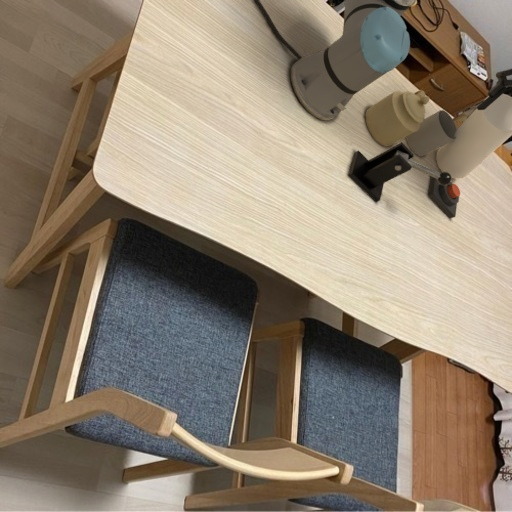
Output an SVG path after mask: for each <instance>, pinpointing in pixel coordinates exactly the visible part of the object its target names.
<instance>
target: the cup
mask: <svg viewBox="0 0 512 512" xmlns="http://www.w3.org/2000/svg"><path fill="white" fill-rule="evenodd" d="M456 131H457V128H456V125H455V123H454V121H453V118H452V116H451V115H450V114H449V113H448V112H447V111H445V110H444V109H440V110H438V111H437V112H435V113H433V114H431V115H429V116H427V117H426V118H424V121H423V122H420V127H419V129H418V130H417V131H416V132H414V133H412V134H411V135H409V136H407V137H406V141H407V143H408V146H409V147H410V150H411V151H412V152H413V154H414V155H417V156H418V157H423V156H425V155H428V154H429V153H431V152H434V151H435V150H437V149H440V148H441V147H442V146H443V145H445V144H447V143H449V142H451V141H453V140H455V139H456V137H454V135H455V133H456Z"/></svg>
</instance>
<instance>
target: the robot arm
mask: <svg viewBox="0 0 512 512" xmlns="http://www.w3.org/2000/svg"><path fill="white" fill-rule="evenodd" d="M415 1H416V0H344V12H343V13H344V14H343V28H342V35H341V36H340V37H339V38H338V39H337V40H335V41H334V42H333V43H331V45H329V46H328V47H326V48H325V49H323V50H320V51H316V52H314V53H311V54H307V55H305V56H301V55H300V54H299V53H298V52H297V51H296V49H295V48H294V47H293V46H292V45H291V44H290V43H289V42H288V41H287V40H286V39H285V38H284V37H283V36H282V34H281V33H280V32H279V30H278V28H277V27H276V25H275V23H274V22H273V20H272V19H271V16H270V15H269V13H268V12H267V10H266V8H265V6H264V5H263V4H262V2H261V1H260V0H254V2H255V4H256V5H257V6H258V8H259V10H260V11H261V13H262V14H263V16H264V18H265V20H266V21H267V24H269V26H270V28H271V30H272V31H273V33H274V35H276V37H277V39H278V40H279V41H280V42H281V44H282V45H284V46H285V48H287V50H289V52H291V54H292V55H293V56H294V57H295V58H296V59H297V60H296V61H295V62H294V63H293V64H292V66H291V69H290V82H291V87H292V89H293V92H294V94H295V96H296V98H297V100H298V101H299V102H300V104H301V106H303V107H304V109H305V110H306V111H307V112H308V113H309V114H311V116H313V117H315V118H317V119H319V120H323V121H330V120H332V119H334V118H336V117H337V116H339V115H340V114H341V113H342V112H344V111H345V110H346V109H347V107H346V106H347V105H348V103H349V102H350V100H351V99H352V98H353V97H354V96H355V94H358V93H359V92H360V91H361V90H363V89H365V88H366V87H367V86H369V85H370V84H373V82H376V80H379V78H381V77H383V76H384V75H386V74H387V73H389V72H391V71H393V70H394V69H396V67H398V66H399V65H400V64H401V63H402V62H403V61H405V59H406V58H407V56H408V55H409V51H410V48H411V40H410V39H411V38H410V34H409V32H408V31H407V25H406V23H405V21H404V19H403V18H402V17H401V16H403V14H404V13H405V12H406V11H407V10H408V9H409V8H411V6H412V5H414V3H415ZM510 76H512V68H508V69H505V70H501V71H497V72H496V73H495V77H496V79H497V81H496V84H495V85H494V86H493V87H492V88H491V89H490V90H488V92H487V97H488V96H489V97H488V98H487V97H486V98H487V99H486V98H485V99H486V100H485V99H484V100H485V101H484V100H483V101H482V102H480V103H481V104H480V103H479V104H480V105H479V106H478V107H477V109H478V110H485V109H486V108H487V107H488V106H489V105H490V104H492V103H493V102H494V101H495V100H496V99H497V98H498V97H500V96H501V95H502V94H505V93H506V92H507V91H508V88H507V87H512V79H508V77H510ZM510 156H511V157H512V152H511V153H510Z"/></svg>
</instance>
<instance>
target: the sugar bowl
mask: <svg viewBox="0 0 512 512" xmlns="http://www.w3.org/2000/svg"><path fill="white" fill-rule="evenodd" d="M430 99H431V98H430V96H428V95H426V92H425V91H424V90H422V89H419V90H418V91H416V92H412V91H410V90H405V91H404V92H403V91H401V90H396V91H395V90H394V92H392V93H390V94H389V95H387V96H385V97H384V98H382V99H381V100H379V101H377V102H376V103H374V104H373V105H371V106H370V107H368V109H367V110H366V112H365V123H366V126H367V128H368V131H369V133H370V134H371V136H372V137H373V138H374V140H375V141H376V142H377V143H378V144H380V145H381V146H384V147H390V146H392V145H394V144H396V143H398V142H400V141H402V140H403V139H405V138H407V136H409V135H411V134H412V133H414V132H416V131H417V130H418V129H419V127H420V122H423V121H424V119H426V118H425V117H426V116H425V115H426V108H425V105H427V104H428V103H429V102H430Z"/></svg>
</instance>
